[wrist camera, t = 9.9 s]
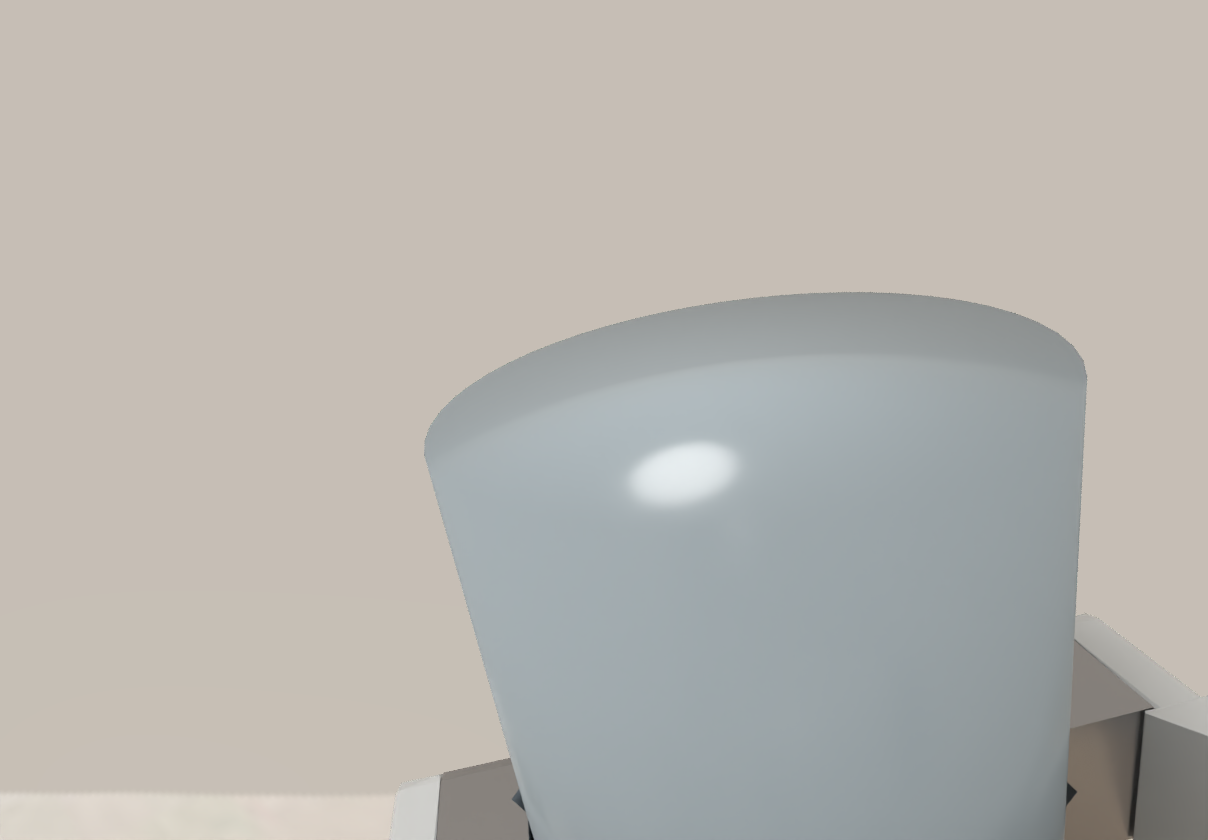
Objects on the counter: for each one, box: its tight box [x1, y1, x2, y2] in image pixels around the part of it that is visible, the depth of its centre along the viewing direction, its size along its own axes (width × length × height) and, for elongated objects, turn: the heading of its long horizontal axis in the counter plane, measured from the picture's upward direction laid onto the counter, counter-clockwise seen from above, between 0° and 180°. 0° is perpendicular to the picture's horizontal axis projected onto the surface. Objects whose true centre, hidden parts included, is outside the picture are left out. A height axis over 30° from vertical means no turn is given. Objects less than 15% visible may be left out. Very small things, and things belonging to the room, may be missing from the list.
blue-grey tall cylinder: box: [424, 292, 1087, 840], centre depth 9 cm, size 6×6×11 cm
